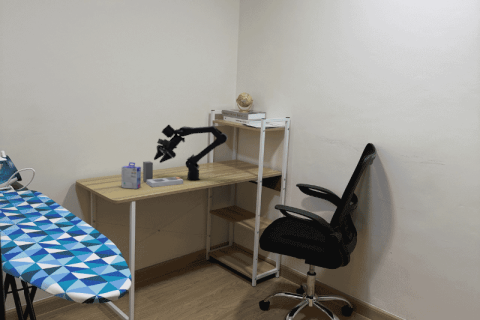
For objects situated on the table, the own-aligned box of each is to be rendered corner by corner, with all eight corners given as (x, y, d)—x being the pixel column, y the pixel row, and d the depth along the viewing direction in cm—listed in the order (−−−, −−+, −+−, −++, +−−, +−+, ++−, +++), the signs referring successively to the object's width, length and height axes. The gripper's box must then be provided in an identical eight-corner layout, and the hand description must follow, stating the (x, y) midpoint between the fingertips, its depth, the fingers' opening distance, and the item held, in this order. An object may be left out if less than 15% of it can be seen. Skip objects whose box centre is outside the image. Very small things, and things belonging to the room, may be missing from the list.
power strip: (176, 180, 261) (176, 175, 260) (183, 183, 254) (183, 178, 253) (146, 183, 250) (146, 178, 249) (152, 187, 243) (152, 182, 242)
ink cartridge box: (141, 187, 242) (141, 162, 239) (137, 189, 237) (137, 164, 234) (125, 185, 244) (125, 161, 241) (121, 187, 238) (120, 163, 236)
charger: (149, 180, 259) (150, 160, 257) (152, 181, 255) (152, 162, 253) (143, 180, 257) (143, 161, 254) (145, 182, 253) (145, 162, 251)
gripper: (159, 132, 264) (142, 150, 261) (171, 136, 249) (154, 155, 245) (170, 143, 270) (154, 161, 266) (183, 148, 255) (166, 167, 251)
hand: (157, 161), depth 257 cm, fingers open, 9 cm apart
